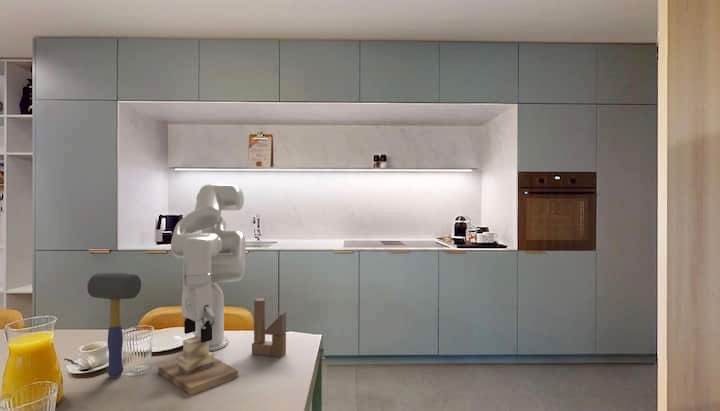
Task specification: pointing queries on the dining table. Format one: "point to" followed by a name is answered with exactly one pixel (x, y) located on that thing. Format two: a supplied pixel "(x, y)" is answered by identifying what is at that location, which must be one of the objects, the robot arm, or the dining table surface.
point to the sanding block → (195, 356)
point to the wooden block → (268, 332)
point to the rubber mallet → (114, 310)
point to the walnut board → (198, 376)
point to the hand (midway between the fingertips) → (198, 336)
